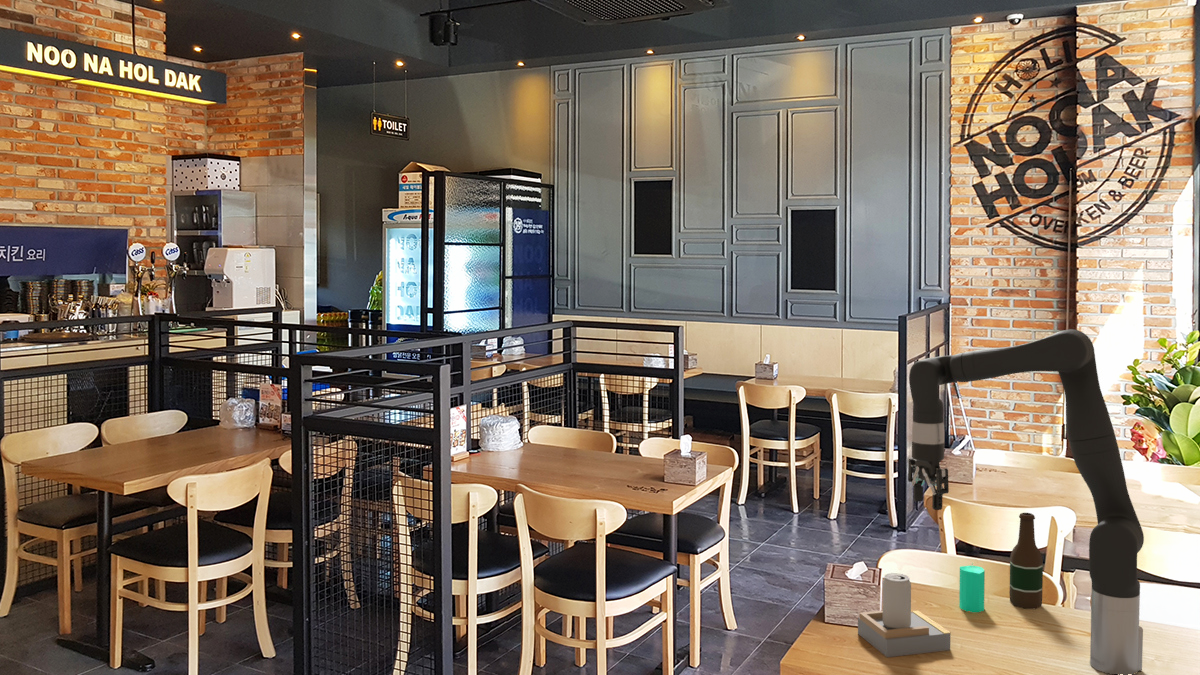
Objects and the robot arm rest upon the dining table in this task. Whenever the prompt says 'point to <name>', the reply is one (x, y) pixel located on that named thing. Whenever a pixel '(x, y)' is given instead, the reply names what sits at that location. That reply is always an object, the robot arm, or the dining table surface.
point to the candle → (972, 588)
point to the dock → (903, 635)
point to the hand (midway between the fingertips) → (927, 505)
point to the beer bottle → (1026, 567)
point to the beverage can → (896, 601)
